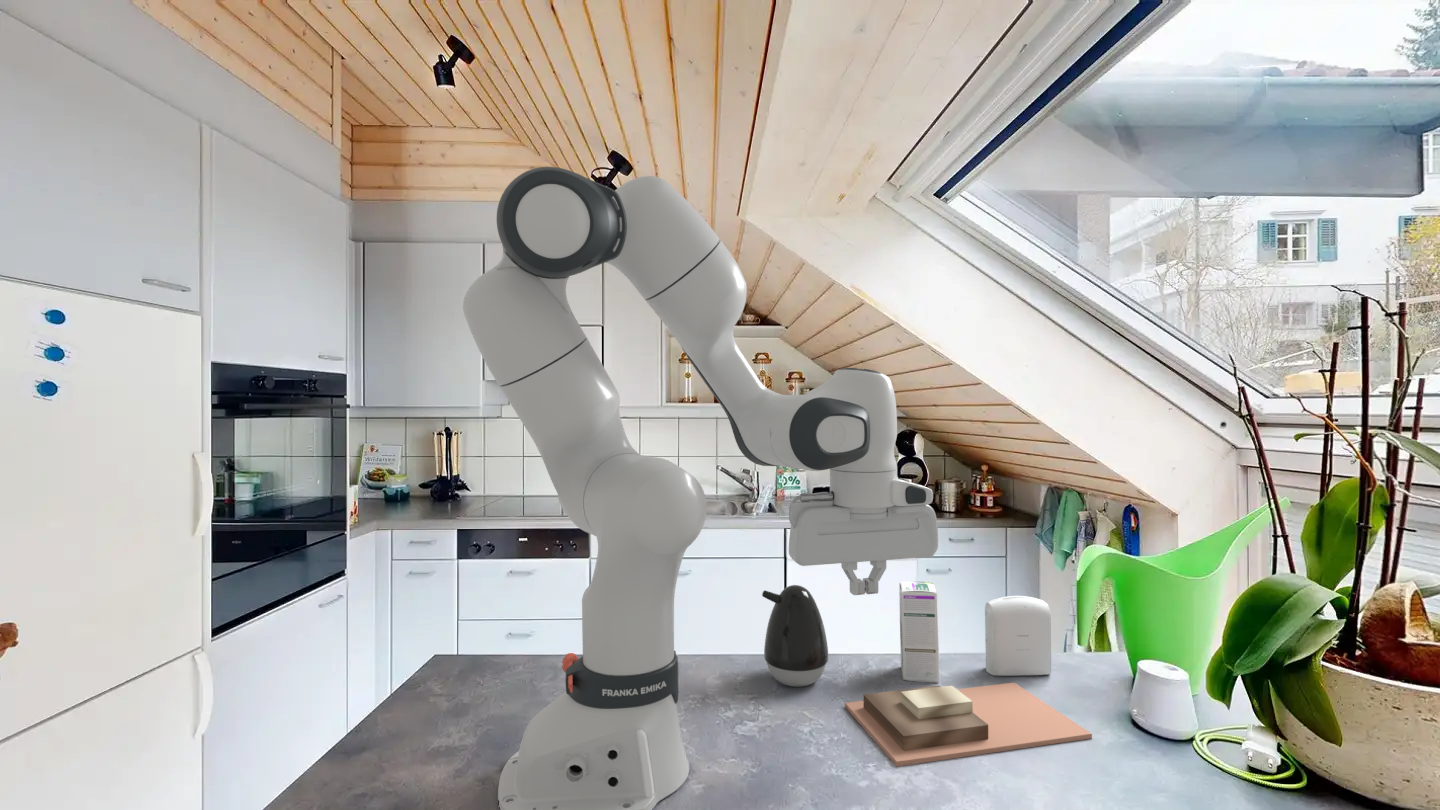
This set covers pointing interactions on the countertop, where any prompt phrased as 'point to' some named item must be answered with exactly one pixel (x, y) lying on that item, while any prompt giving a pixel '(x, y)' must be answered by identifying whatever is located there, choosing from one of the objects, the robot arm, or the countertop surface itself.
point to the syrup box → (919, 631)
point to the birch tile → (936, 702)
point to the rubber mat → (1009, 722)
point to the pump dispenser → (795, 638)
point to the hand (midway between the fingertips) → (863, 593)
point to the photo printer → (1017, 636)
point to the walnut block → (922, 723)
